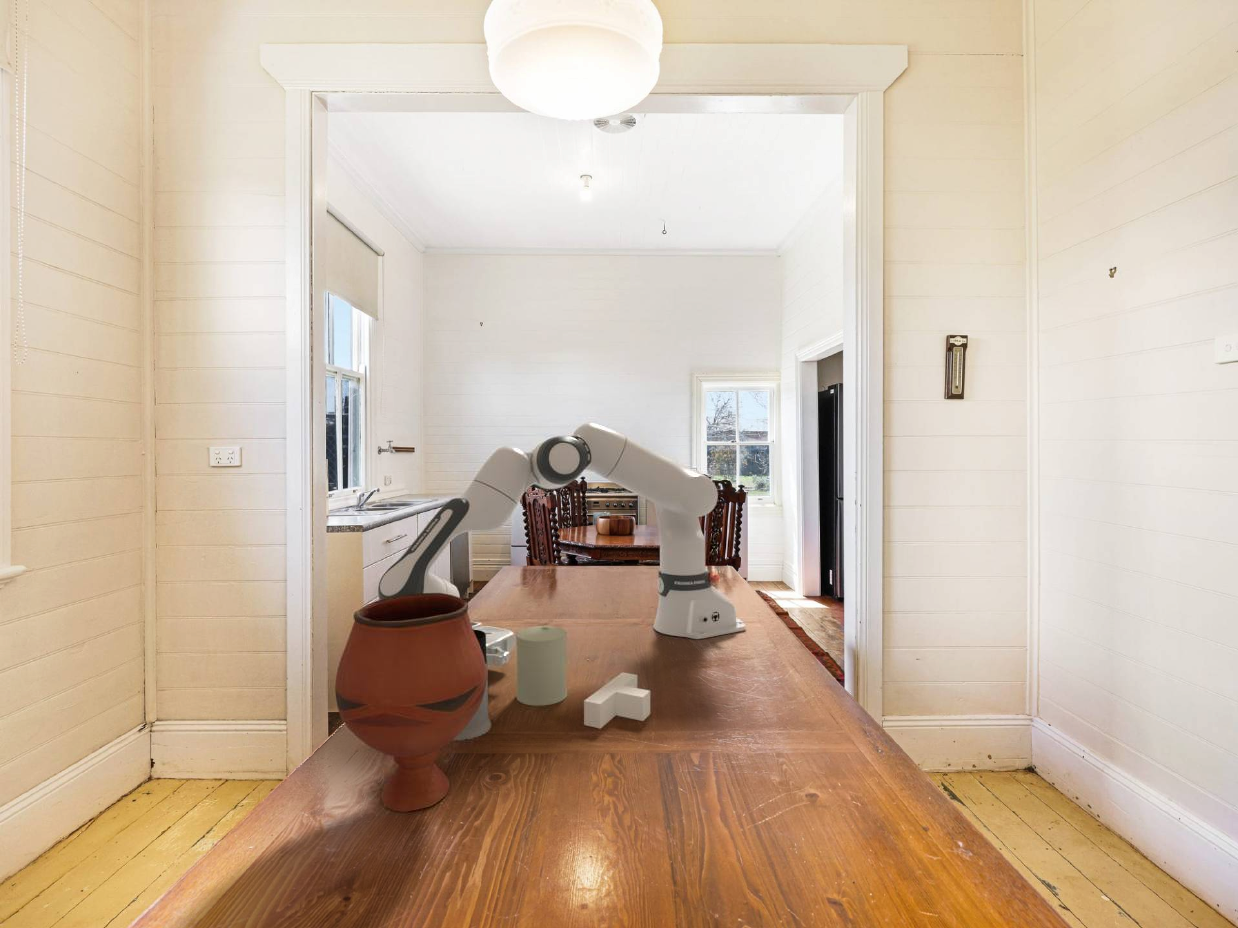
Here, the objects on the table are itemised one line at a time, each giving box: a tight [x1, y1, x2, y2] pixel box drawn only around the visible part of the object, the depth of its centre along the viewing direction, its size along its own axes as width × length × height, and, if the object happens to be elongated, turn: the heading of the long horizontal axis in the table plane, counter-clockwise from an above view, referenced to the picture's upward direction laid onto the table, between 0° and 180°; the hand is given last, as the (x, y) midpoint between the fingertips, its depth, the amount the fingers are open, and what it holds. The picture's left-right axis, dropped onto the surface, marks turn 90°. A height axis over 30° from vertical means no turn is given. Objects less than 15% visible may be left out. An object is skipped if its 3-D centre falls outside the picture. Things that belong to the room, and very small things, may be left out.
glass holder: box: [452, 629, 492, 741], centre depth 99 cm, size 9×14×15 cm, turn 164°
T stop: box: [583, 671, 651, 729], centre depth 107 cm, size 8×14×4 cm, turn 153°
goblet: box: [334, 593, 487, 813], centre depth 83 cm, size 19×19×25 cm
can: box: [515, 625, 568, 707], centre depth 115 cm, size 9×9×12 cm
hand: (505, 658), depth 118 cm, fingers closed
